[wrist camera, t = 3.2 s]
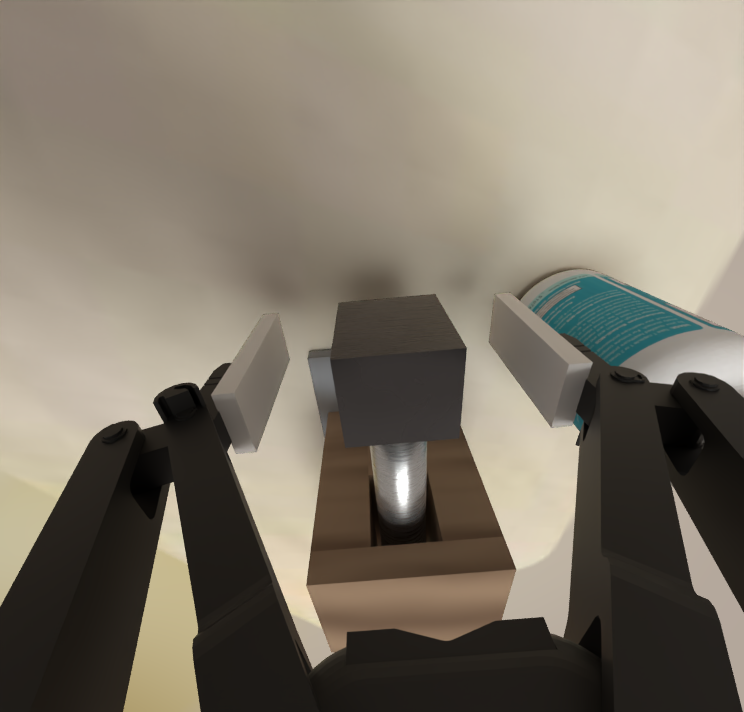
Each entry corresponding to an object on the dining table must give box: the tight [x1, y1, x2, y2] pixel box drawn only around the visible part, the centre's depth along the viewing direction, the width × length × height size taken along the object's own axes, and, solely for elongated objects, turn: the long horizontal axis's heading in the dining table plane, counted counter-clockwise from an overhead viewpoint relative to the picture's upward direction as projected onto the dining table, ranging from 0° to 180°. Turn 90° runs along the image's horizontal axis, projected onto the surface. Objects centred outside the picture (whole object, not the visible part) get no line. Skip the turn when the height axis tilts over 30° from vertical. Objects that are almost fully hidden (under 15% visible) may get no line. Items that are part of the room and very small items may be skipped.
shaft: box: [330, 294, 467, 546], centre depth 18 cm, size 23×4×5 cm, turn 5°
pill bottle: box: [520, 269, 744, 486], centre depth 17 cm, size 8×7×14 cm
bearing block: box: [306, 350, 516, 652], centre depth 23 cm, size 22×11×13 cm, turn 5°
